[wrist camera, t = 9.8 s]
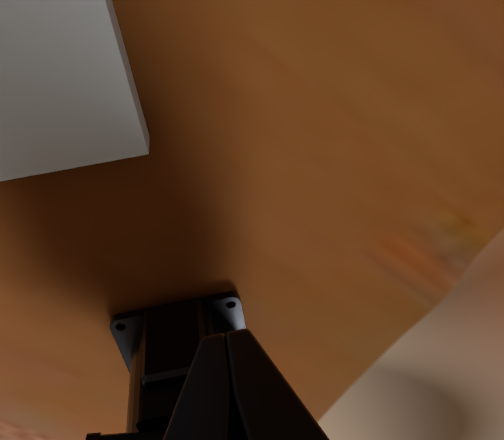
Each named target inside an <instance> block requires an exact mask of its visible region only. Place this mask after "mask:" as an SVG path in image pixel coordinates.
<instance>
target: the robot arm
mask: <svg viewBox="0 0 504 440" xmlns="http://www.w3.org/2000/svg"><path fill="white" fill-rule="evenodd" d="M229 301H234V302H232V303H227V302H229ZM119 323H122V324H123V325H120V324H119ZM110 329H111V332H112V334H113V336H114V338H115V341H116V343H117V345H118V347H119V350H120V352H121V354H122V357H123V359H124V361H125V363H126V366H127V368H128V370H129V372H130V384H129V399H128V414H127V428H126V433H118V434H105V435H101V433H89V434H87V436H86V440H329V438H328V437H327V436H326V434H325V433H324V431H323V430H322V429H321V427H320V426H319V425H318V423H317V422H316V420H315V419H314V418H313V416H312V415H311V414H310V412H309V411H308V410H307V408H306V407H305V405H304V404H303V403H302V401H301V400H300V399H299V397H298V396H297V394H296V393H295V392H294V390H293V389H292V388H291V386H290V385H289V383H288V382H287V381H286V379H285V378H284V377H283V375H282V374H281V373H280V371H279V370H278V368H277V367H276V366H275V364H274V363H273V362H272V360H271V359H270V357H269V356H268V355H267V353H266V352H265V351H264V349H263V348H262V346H261V345H260V344H259V342H258V341H257V340H256V338H255V337H254V336H253V334H252V333H251V331H250V330H248V329H246V326H245V321H244V316H243V311H242V306H241V301H240V297H239V295H238V294H237V293H235V292H226V293H221V294H216V295H211V296H206V297H201V298H196V299H191V300H186V301H181V302H176V303H171V304H166V305H161V306H156V307H151V308H146V309H141V310H136V311H131V312H126V313H121V314H117V315H114V316H113V317H112V319H111V322H110Z"/></svg>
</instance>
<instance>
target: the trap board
mask: <svg viewBox="0 0 504 440" xmlns="http://www.w3.org/2000/svg"><path fill="white" fill-rule="evenodd" d="M149 141H150V136H149V133H148V129H147V125H146V122H145V118H144V114H143V111H142V107H141V104H140V100H139V96H138V93H137V89H136V85H135V82H134V78H133V74H132V71H131V67H130V64H129V60H128V56H127V53H126V49H125V45H124V42H123V38H122V34H121V31H120V27H119V24H118V20H117V16H116V13H115V9H114V5H113V2H112V0H0V181H6V180H11V179H17V178H22V177H28V176H33V175H38V174H44V173H49V172H55V171H60V170H66V169H71V168H76V167H82V166H87V165H93V164H98V163H104V162H109V161H115V160H120V159H125V158H131V157H136V156H142V155H147V154H149Z"/></svg>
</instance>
